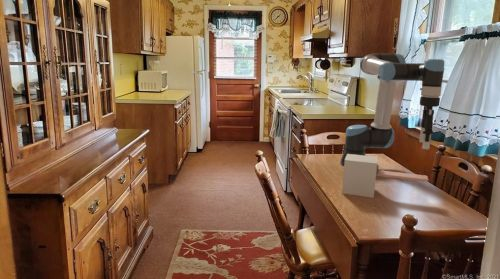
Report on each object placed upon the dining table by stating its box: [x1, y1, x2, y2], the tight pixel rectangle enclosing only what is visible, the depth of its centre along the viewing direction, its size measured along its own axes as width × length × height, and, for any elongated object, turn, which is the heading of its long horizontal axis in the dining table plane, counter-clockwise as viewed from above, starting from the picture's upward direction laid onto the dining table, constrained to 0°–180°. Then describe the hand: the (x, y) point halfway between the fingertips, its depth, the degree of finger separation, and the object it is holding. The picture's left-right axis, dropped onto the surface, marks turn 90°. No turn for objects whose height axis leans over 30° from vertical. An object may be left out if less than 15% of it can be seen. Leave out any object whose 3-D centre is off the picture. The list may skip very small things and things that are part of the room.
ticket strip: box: [376, 169, 429, 183], centre depth 167 cm, size 6×24×1 cm, turn 70°
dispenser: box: [341, 154, 379, 198], centre depth 172 cm, size 12×15×16 cm
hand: (424, 145), depth 161 cm, fingers open, 13 cm apart
